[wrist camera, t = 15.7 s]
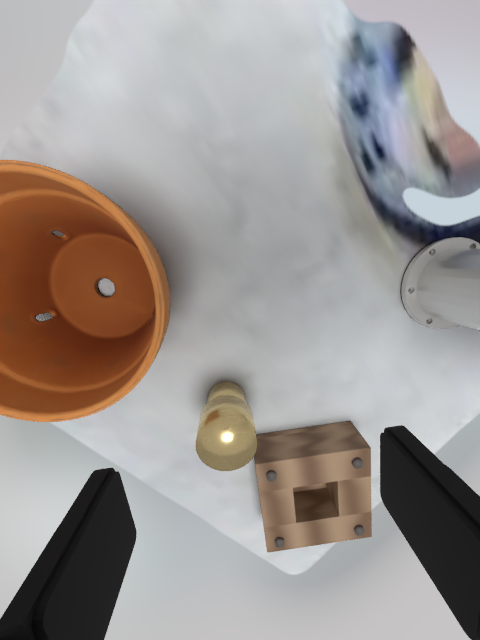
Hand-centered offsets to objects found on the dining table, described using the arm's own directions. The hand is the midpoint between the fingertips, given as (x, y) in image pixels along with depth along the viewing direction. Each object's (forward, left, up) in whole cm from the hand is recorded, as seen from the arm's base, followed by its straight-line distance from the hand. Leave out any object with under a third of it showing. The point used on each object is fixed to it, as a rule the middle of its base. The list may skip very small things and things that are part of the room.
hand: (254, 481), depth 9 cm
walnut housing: (-8, +28, -28) cm, 41 cm away
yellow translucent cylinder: (+3, +13, -28) cm, 31 cm away
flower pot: (+16, -6, -29) cm, 33 cm away
